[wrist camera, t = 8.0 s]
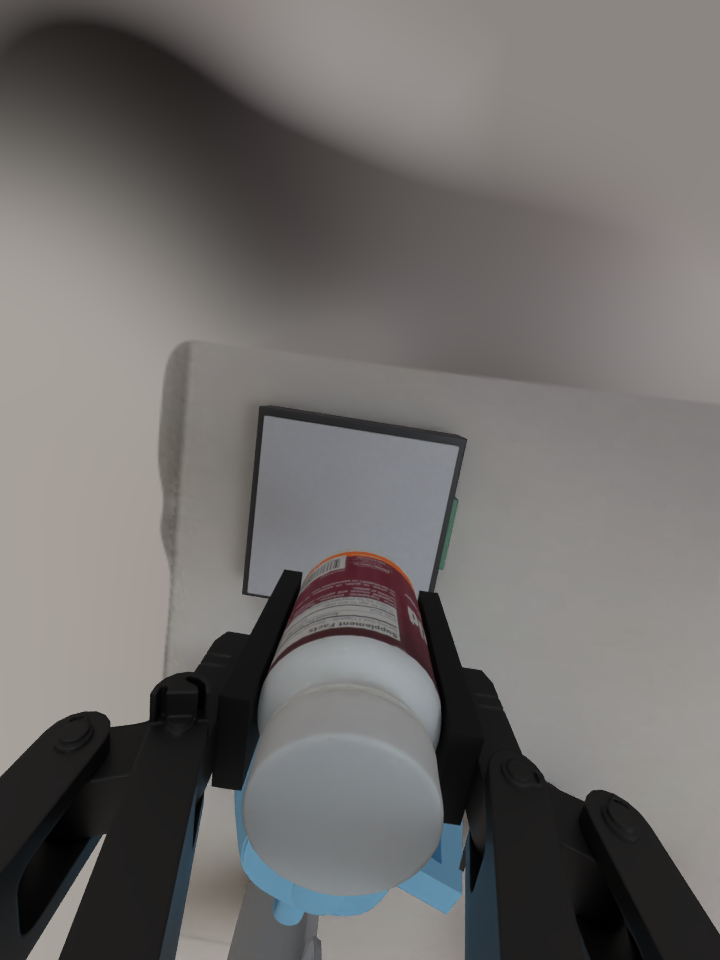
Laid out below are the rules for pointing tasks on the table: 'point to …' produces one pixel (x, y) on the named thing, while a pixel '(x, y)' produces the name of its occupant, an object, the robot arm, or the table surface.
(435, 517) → the scale
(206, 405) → the table surface
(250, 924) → the water bottle
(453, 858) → the teapot
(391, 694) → the pill bottle
